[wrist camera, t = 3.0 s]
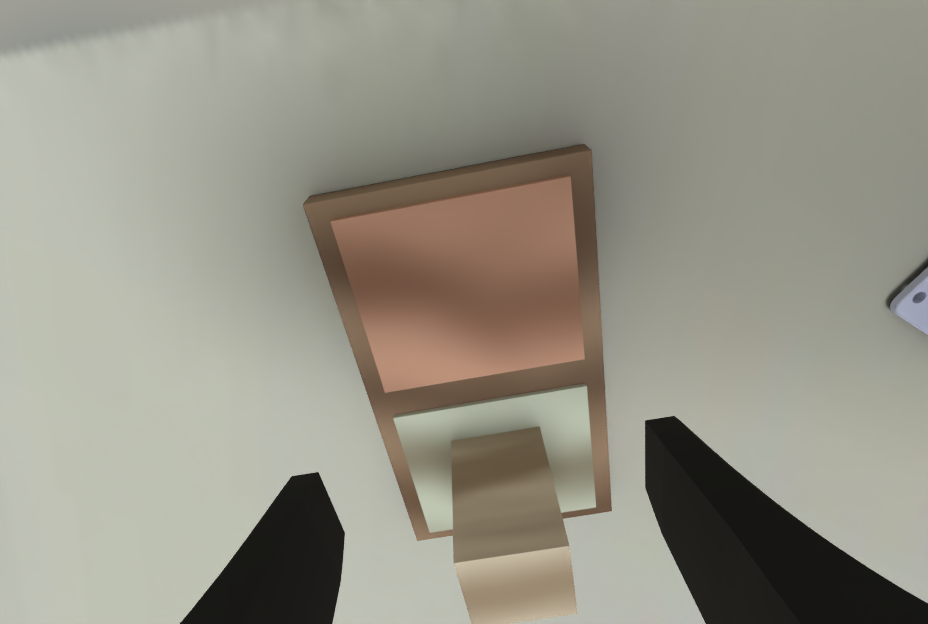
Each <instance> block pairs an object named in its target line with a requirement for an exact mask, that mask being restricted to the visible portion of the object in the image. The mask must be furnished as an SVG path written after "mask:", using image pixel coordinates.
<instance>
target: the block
mask: <svg viewBox="0 0 928 624" xmlns="http://www.w3.org/2000/svg"><path fill="white" fill-rule="evenodd" d="M451 464H452V507H453V550H454V566H455V569H456V572H457V576H458V579H459V582H460V586H461V589H462V592H463V596H464V599H465V603H466V606H467V609H468V613H469V616H470V619H471V623H472V624H508V623H515V622H522V621H529V620H536V619H543V618H550V617H557V616H564V615H571V614H577V605H576V597H575V589H574V581H573V572H572V564H571V556H570V548H569V543H568V539H567V535H566V531H565V526H564V522H563V518H562V514H561V510H560V506H559V502H558V498H557V494H556V490H555V486H554V482H553V478H552V474H551V470H550V466H549V462H548V458H547V454H546V450H545V446H544V442H543V438H542V434H541V429H540V426H539V427H533V428H527V429H521V430H515V431H509V432H502V433H496V434H490V435H484V436H478V437H472V438H466V439H459V440H453V441H451Z"/></svg>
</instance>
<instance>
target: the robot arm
mask: <svg viewBox="0 0 928 624" xmlns="http://www.w3.org/2000/svg"><path fill="white" fill-rule="evenodd" d="M917 293H918V294H917ZM916 294H917V295H916ZM915 295H916V296H915ZM914 296H915V297H914ZM890 310H891V311H892V312H893V313H894V314H896V315H897V316H899V317H900V318H902V319H903V320H905V321H907V322H908V323H910V324H911V325H913V326H914V327H916V328H917V329H919V330H920V331H922V332H923V333H925V334H926V335H928V267H927V268H926V269H925V270H924V271H923V272H922V273H921V274H920V275H919V276H918V277H916V278H915V279H914V280H913V281H912V282H911V283H910V284H909V285H908V286H907V287H906V288H905V289H904V290H903V291H902V292H900V293H899V294H898V295H897V296H896V297H895V298H894V299H893V301H892V302H891V305H890ZM645 488H646V491H647V493H648V496H649V499H650V502H651V505H652V508H653V511H654V513H655V516H656V519H657V521H658V524H659V527H660V530H661V532H662V535H663V537H664V539H665V541H666V543H667V545H668V547H669V549H670V551H671V553H672V555H673V558H674V560H675V562H676V564H677V566H678V568H679V570H680V572H681V574H682V576H683V578H684V580H685V582H686V584H687V586H688V588H689V590H690V592H691V594H692V596H693V598H694V600H695V602H696V604H697V606H698V609H699V611H700V613H701V615H702V617H703V619H704V621H705V623H706V624H928V603H926V602H924V601H923V600H921V599H919V598H917V597H916V596H914V595H912V594H910V593H909V592H907V591H905V590H903V589H902V588H900V587H898V586H897V585H895V584H893V583H892V582H890V581H889V580H887V579H885V578H884V577H882V576H881V575H879V574H877V573H876V572H874V571H873V570H871V569H869V568H868V567H866V566H865V565H863V564H862V563H860V562H859V561H857V560H856V559H854V558H853V557H851V556H850V555H848V554H847V553H845V552H844V551H842V550H841V549H839V548H838V547H836V546H835V545H833V544H832V543H830V542H829V541H827V540H826V539H825V538H823V537H822V536H820V535H819V534H818V533H816V532H815V531H813V530H812V529H811V528H809V527H808V526H806V525H805V524H804V523H802V522H801V521H800V520H798V519H797V518H796V517H794V516H793V515H792V514H790V513H789V512H788V511H786V510H785V509H784V508H782V507H781V506H780V505H778V504H777V503H776V502H775V501H773V500H772V499H771V498H769V497H768V496H767V495H766V494H764V493H763V492H762V491H761V490H760V489H758V488H757V487H756V486H755V485H753V484H752V483H751V482H750V481H748V480H747V479H746V478H745V477H744V476H742V475H741V474H740V473H739V472H737V471H736V470H735V469H734V468H733V467H732V466H730V465H729V464H728V463H727V462H726V461H725V460H723V459H722V458H721V457H720V456H719V455H718V454H717V453H715V452H714V451H713V450H712V449H711V448H710V447H709V446H707V445H706V444H705V443H704V442H703V441H702V440H701V439H700V438H699V437H697V436H696V435H695V434H694V433H693V432H692V431H691V430H690V429H689V428H688V427H687V426H685V425H684V424H683V423H682V422H681V421H680V420H679V419H677V418H676V417H675V416H671V417H665V418H659V419H652V420H646V421H645ZM344 537H345V532H344V530H343V528H342V525H341V523H340V521H339V519H338V516H337V514H336V512H335V509H334V507H333V505H332V502H331V500H330V498H329V496H328V493H327V491H326V489H325V486H324V484H323V482H322V479H321V477H320V475H319V473H318V472H316V473H310V474H304V475H297V476H292V477H291V478H290V480H289V481H288V482H287V484H286V485H285V486H284V488H283V489H282V490H281V492H280V493H279V494H278V496H277V497H276V499H275V500H274V501H273V503H272V504H271V506H270V507H269V508H268V510H267V511H266V513H265V514H264V515H263V517H262V518H261V520H260V521H259V522H258V524H257V525H256V527H255V528H254V529H253V531H252V532H251V533H250V535H249V536H248V538H247V539H246V540H245V542H244V543H243V544H242V546H241V547H240V548H239V550H238V551H237V552H236V554H235V555H234V556H233V558H232V559H231V560H230V562H229V563H228V564H227V566H226V567H225V568H224V570H223V571H222V572H221V574H220V575H219V576H218V577H217V579H216V580H215V581H214V582H213V584H212V585H211V586H210V587H209V589H208V590H207V591H206V592H205V594H204V595H203V596H202V597H201V599H200V600H199V601H198V602H197V604H196V605H195V606H194V607H193V609H192V610H191V611H190V612H189V614H188V615H187V616H186V617H185V618H184V619H183V621H182V622H181V623H180V624H332V622H333V617H334V612H335V607H336V602H337V597H338V592H339V587H340V582H341V573H342V563H343V550H344Z"/></svg>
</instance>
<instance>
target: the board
mask: <svg viewBox="0 0 928 624" xmlns="http://www.w3.org/2000/svg"><path fill="white" fill-rule="evenodd" d="M303 207H304V210H305V213H306V216H307V218H308V221H309V224H310V227H311V230H312V233H313V236H314V239H315V242H316V245H317V248H318V251H319V254H320V257H321V259H322V262H323V265H324V268H325V271H326V274H327V277H328V280H329V283H330V286H331V289H332V292H333V295H334V298H335V301H336V303H337V306H338V309H339V312H340V315H341V318H342V321H343V324H344V327H345V330H346V333H347V336H348V339H349V342H350V345H351V347H352V350H353V353H354V356H355V359H356V362H357V365H358V368H359V371H360V374H361V377H362V380H363V383H364V386H365V388H366V391H367V394H368V397H369V400H370V403H371V406H372V409H373V412H374V415H375V418H376V421H377V424H378V427H379V430H380V432H381V435H382V438H383V441H384V444H385V447H386V450H387V453H388V456H389V459H390V462H391V465H392V468H393V471H394V474H395V476H396V479H397V482H398V485H399V488H400V491H401V494H402V497H403V500H404V503H405V506H406V509H407V512H408V515H409V517H410V520H411V523H412V526H413V529H414V532H415V535H416V538H417V541H419V540H426V539H432V538H439V537H445V536H452V535H453V507H452V464H451V441H453V440H459V439H466V438H472V437H478V436H484V435H490V434H496V433H502V432H509V431H515V430H521V429H527V428H533V427H539V426H540V429H541V434H542V438H543V442H544V446H545V450H546V454H547V458H548V462H549V466H550V470H551V474H552V478H553V482H554V486H555V490H556V494H557V498H558V502H559V506H560V510H561V514H562V518H570V517H576V516H583V515H589V514H596V513H602V512H609V511H612V507H611V489H610V471H609V453H608V435H607V418H606V400H605V382H604V364H603V346H602V328H601V310H600V292H599V275H598V257H597V239H596V221H595V203H594V185H593V167H592V150H591V149H590V148H588V147H587V146H586V145H585V144H583V145H577V146H572V147H567V148H562V149H556V150H551V151H546V152H541V153H535V154H530V155H525V156H520V157H514V158H509V159H504V160H499V161H493V162H488V163H483V164H478V165H472V166H467V167H462V168H457V169H451V170H446V171H441V172H436V173H430V174H425V175H420V176H415V177H409V178H404V179H399V180H394V181H388V182H383V183H378V184H373V185H367V186H362V187H357V188H352V189H346V190H341V191H336V192H331V193H325V194H320V195H315V196H310V197H309V198H308V199H307V200H306V201H305V203H304V204H303Z"/></svg>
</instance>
